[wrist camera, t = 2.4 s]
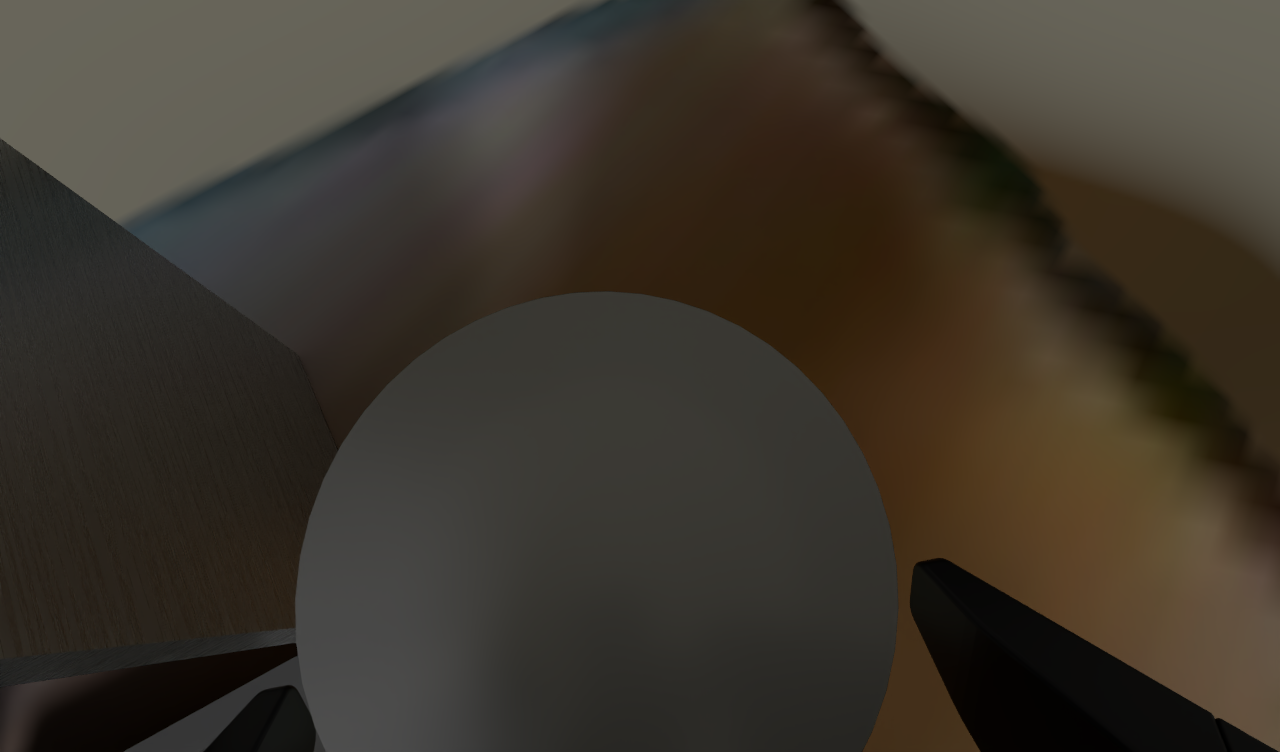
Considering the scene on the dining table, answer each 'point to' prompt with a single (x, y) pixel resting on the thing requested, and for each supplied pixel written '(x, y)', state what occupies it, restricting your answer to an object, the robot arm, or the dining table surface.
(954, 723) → the dining table surface
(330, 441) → the caddy
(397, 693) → the cup
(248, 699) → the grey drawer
